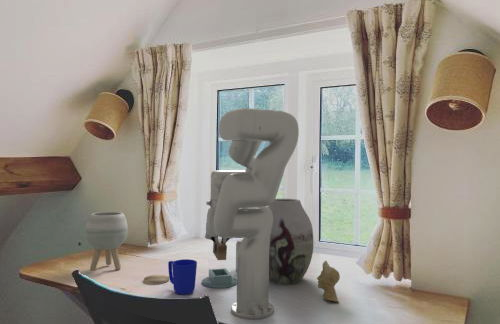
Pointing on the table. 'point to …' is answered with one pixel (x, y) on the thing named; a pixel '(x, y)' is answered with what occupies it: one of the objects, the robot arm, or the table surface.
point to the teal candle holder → (219, 279)
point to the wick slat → (220, 250)
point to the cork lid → (156, 279)
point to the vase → (289, 242)
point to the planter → (106, 236)
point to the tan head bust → (328, 282)
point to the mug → (183, 275)
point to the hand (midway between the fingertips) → (219, 254)
